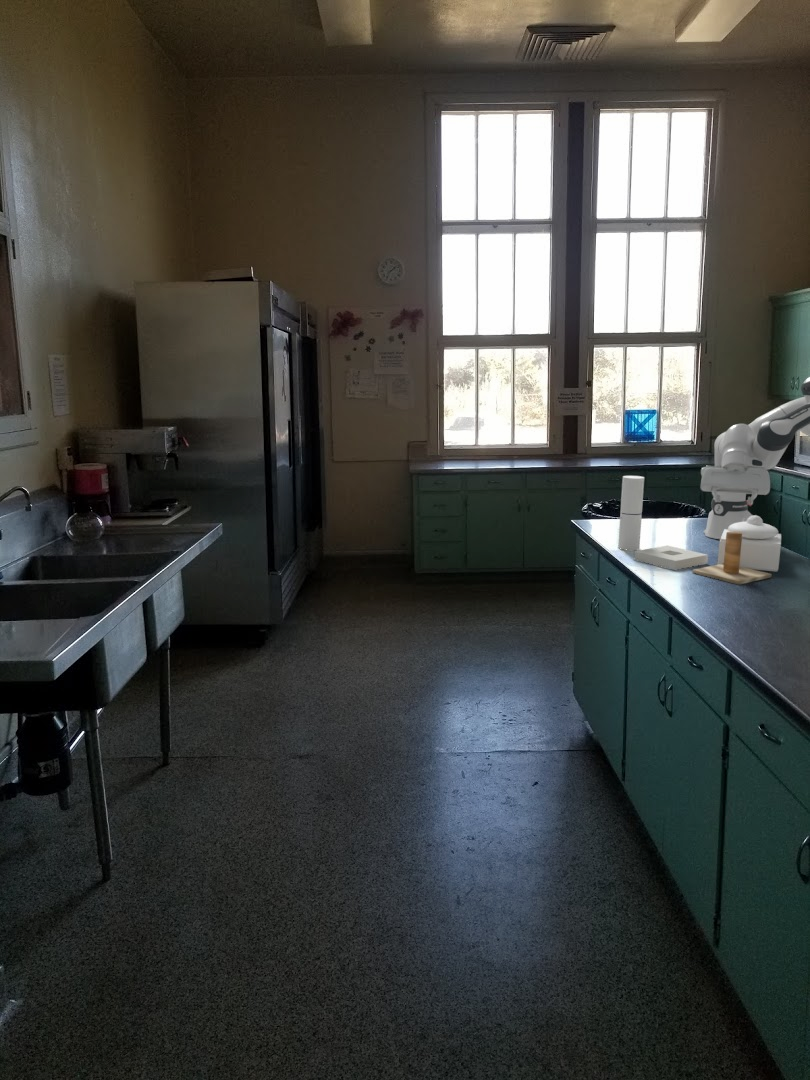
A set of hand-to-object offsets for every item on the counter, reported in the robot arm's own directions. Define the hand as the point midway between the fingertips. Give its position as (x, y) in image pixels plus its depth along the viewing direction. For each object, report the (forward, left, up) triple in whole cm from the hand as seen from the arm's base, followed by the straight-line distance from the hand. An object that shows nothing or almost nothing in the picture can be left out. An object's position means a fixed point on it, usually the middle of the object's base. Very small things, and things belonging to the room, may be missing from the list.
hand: (733, 502), depth 245 cm
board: (+7, +7, -21) cm, 23 cm away
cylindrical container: (+5, -35, -21) cm, 42 cm away
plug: (+8, +7, -20) cm, 22 cm away
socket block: (+9, -14, -21) cm, 27 cm away
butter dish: (-12, -1, -21) cm, 24 cm away
